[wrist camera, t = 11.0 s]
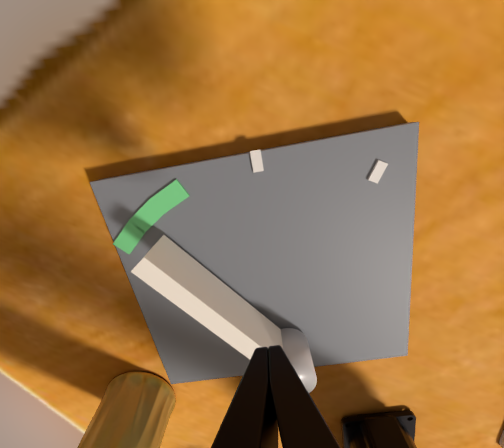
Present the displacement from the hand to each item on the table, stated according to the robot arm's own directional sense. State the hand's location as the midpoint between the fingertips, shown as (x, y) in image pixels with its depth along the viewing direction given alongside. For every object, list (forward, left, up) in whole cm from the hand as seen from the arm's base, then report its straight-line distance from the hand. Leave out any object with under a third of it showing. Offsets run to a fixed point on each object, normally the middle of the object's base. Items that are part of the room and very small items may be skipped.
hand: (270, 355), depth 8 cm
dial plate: (-3, 0, -10) cm, 10 cm away
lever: (-4, +3, -8) cm, 9 cm away
